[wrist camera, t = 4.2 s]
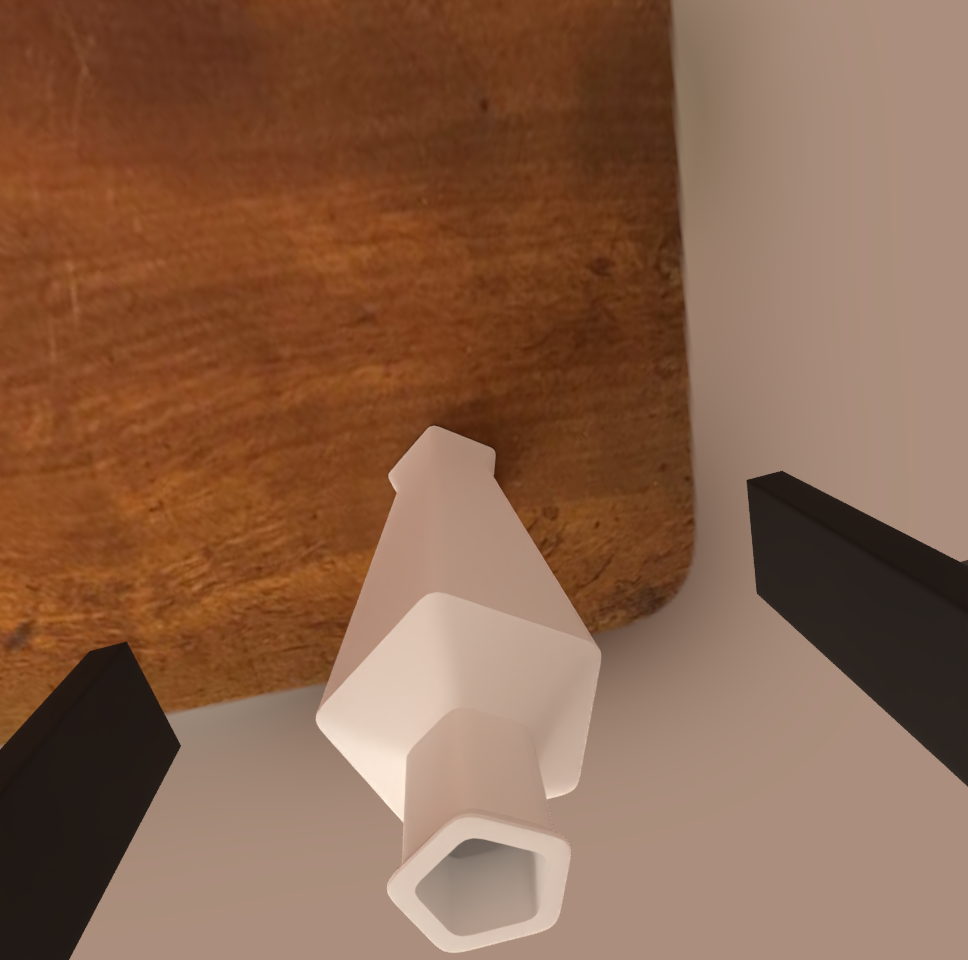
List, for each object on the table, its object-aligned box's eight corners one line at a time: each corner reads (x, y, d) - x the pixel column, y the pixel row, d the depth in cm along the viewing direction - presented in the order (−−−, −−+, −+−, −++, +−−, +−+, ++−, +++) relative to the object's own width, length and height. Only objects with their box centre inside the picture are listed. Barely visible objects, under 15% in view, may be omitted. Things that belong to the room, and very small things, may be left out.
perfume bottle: (534, 496, 21) (742, 909, 7) (432, 556, 22) (442, 1058, 8) (469, 390, 20) (574, 648, 6) (361, 455, 20) (214, 847, 6)
